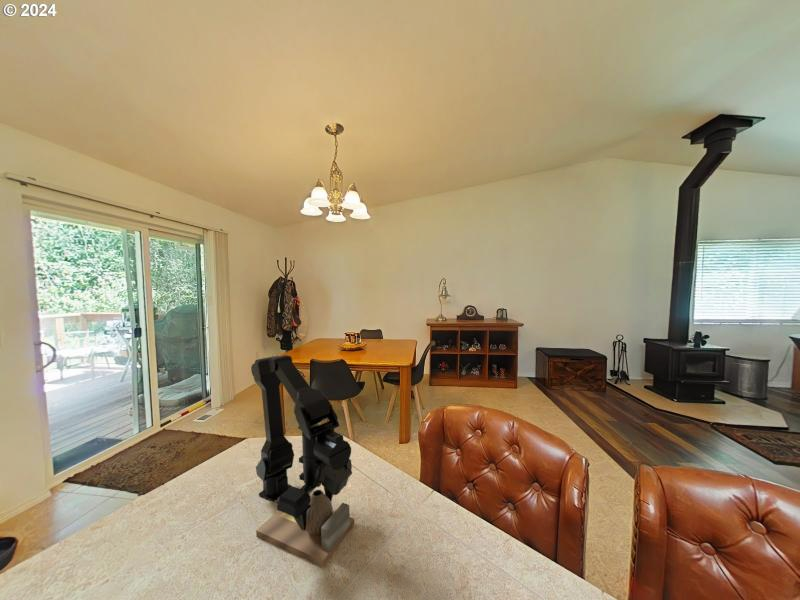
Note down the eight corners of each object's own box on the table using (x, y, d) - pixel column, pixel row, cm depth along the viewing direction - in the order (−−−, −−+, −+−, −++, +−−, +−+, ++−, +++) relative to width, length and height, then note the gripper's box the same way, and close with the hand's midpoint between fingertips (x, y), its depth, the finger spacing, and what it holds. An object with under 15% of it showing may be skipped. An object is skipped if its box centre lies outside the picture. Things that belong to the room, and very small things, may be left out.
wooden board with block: (256, 536, 68) (255, 510, 68) (293, 501, 79) (292, 479, 79) (323, 567, 60) (322, 538, 60) (354, 524, 71) (353, 499, 71)
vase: (326, 542, 64) (325, 505, 64) (297, 539, 65) (296, 502, 65) (337, 518, 71) (336, 484, 71) (311, 515, 72) (310, 482, 72)
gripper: (315, 485, 56) (317, 561, 56) (364, 438, 73) (366, 497, 73) (273, 471, 60) (276, 542, 61) (329, 430, 77) (331, 486, 78)
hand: (317, 514), depth 68 cm, fingers open, 9 cm apart
